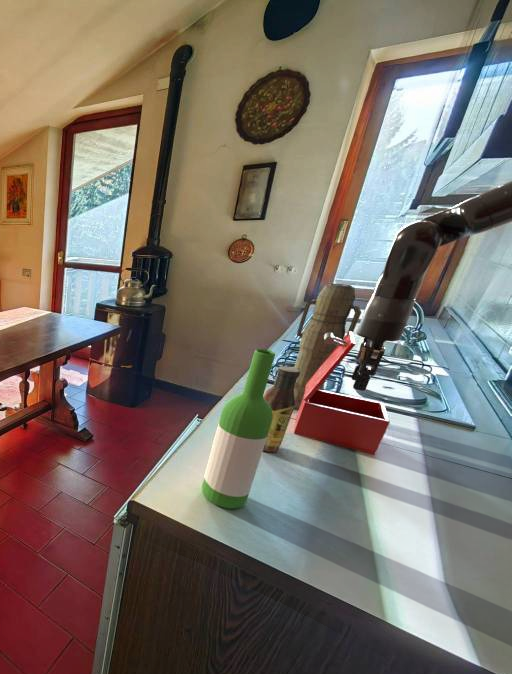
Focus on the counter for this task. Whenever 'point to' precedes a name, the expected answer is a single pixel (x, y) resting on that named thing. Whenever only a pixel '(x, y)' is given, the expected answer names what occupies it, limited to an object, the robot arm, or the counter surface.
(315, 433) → the red box
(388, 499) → the counter surface
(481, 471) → the counter surface
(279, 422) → the sauce bottle
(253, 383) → the wine bottle
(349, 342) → the red box lid
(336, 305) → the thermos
